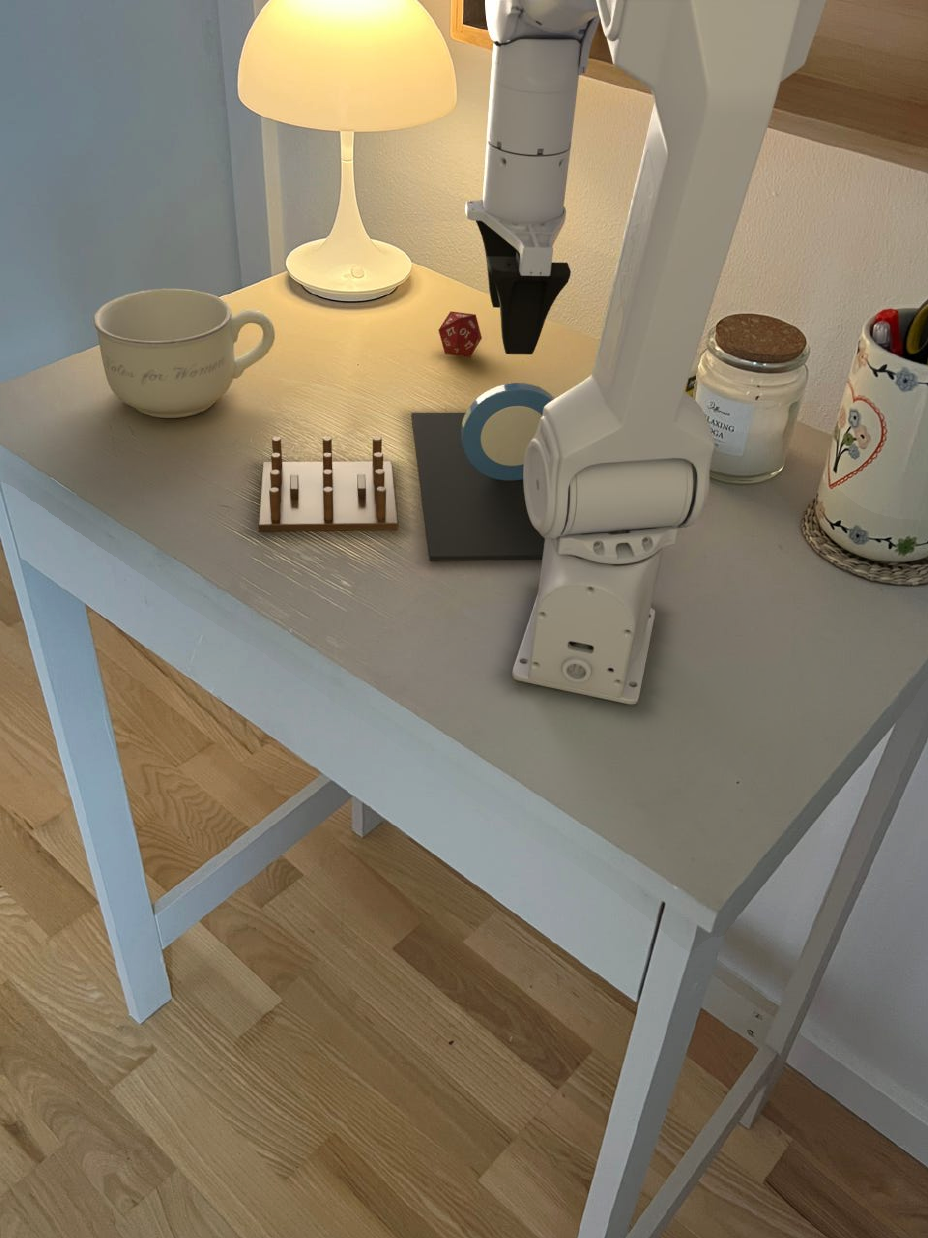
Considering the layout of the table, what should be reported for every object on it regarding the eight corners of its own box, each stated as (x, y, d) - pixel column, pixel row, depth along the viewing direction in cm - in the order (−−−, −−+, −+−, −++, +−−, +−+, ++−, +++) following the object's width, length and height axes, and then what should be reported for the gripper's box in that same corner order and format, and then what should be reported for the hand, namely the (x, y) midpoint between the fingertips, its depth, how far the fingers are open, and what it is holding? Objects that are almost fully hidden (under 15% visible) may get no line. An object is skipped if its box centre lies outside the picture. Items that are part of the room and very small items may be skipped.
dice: (482, 346, 106) (485, 305, 103) (475, 368, 103) (478, 326, 100) (443, 340, 106) (445, 300, 104) (434, 362, 103) (436, 321, 100)
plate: (560, 482, 88) (574, 390, 83) (458, 481, 87) (466, 388, 82) (557, 474, 89) (571, 383, 84) (456, 473, 88) (464, 380, 83)
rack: (397, 529, 83) (398, 494, 81) (259, 531, 82) (256, 495, 80) (391, 467, 89) (392, 433, 87) (263, 468, 88) (260, 433, 86)
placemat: (622, 558, 82) (623, 553, 82) (429, 561, 80) (429, 556, 80) (574, 416, 97) (575, 412, 97) (411, 416, 95) (411, 412, 95)
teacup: (95, 431, 91) (79, 338, 86) (121, 366, 99) (108, 278, 94) (270, 436, 92) (265, 345, 86) (282, 372, 100) (278, 285, 95)
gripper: (459, 107, 82) (450, 286, 91) (482, 178, 71) (469, 374, 80) (556, 110, 83) (537, 287, 91) (593, 181, 72) (567, 374, 80)
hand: (511, 328), depth 86 cm, fingers open, 7 cm apart
